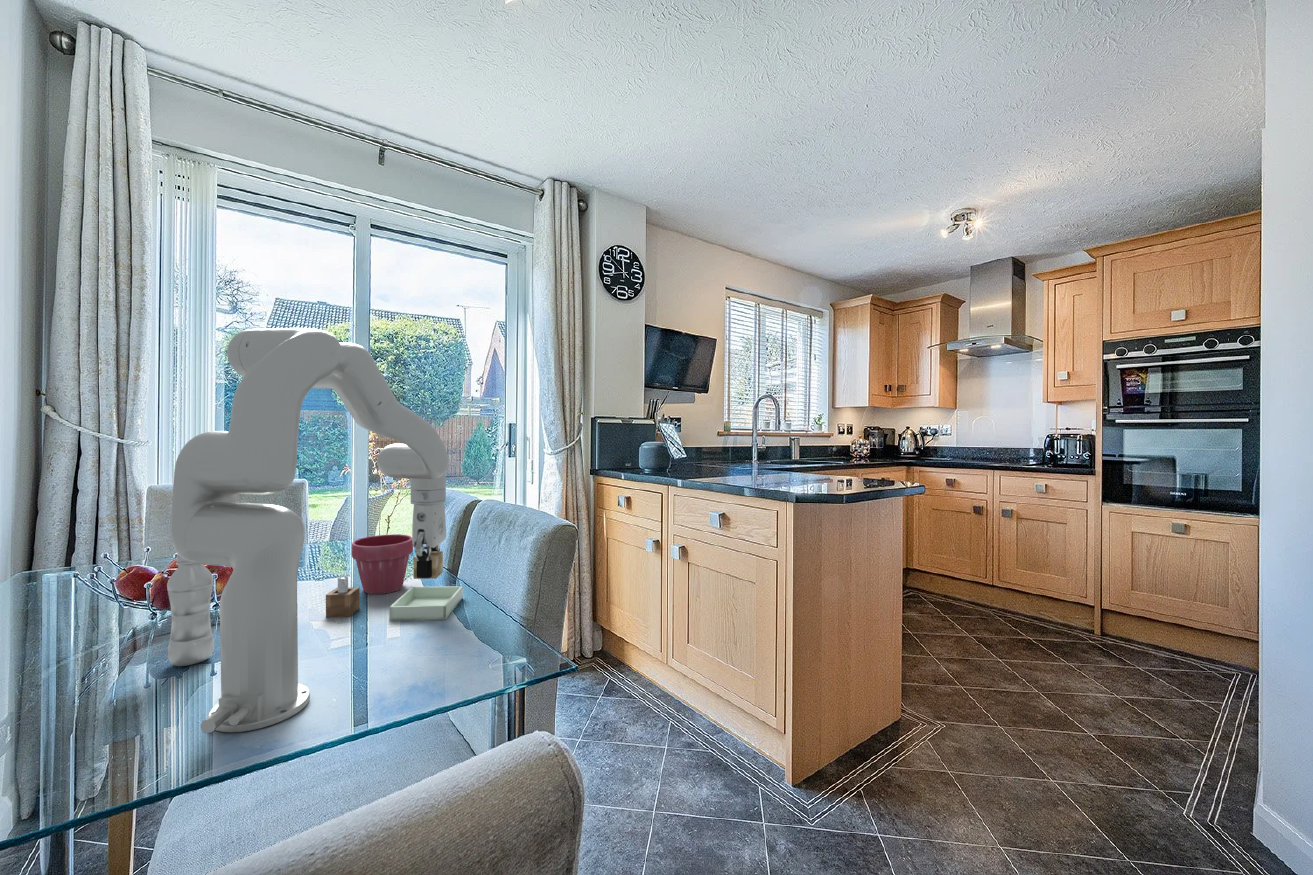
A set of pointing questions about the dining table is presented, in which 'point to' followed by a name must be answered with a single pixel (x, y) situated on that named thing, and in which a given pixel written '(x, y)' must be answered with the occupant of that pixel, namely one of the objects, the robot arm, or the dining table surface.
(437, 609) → the tray
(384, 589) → the plant pot
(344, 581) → the pin
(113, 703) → the dining table surface
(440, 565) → the oak block
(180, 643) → the plastic bottle
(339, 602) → the walnut block
